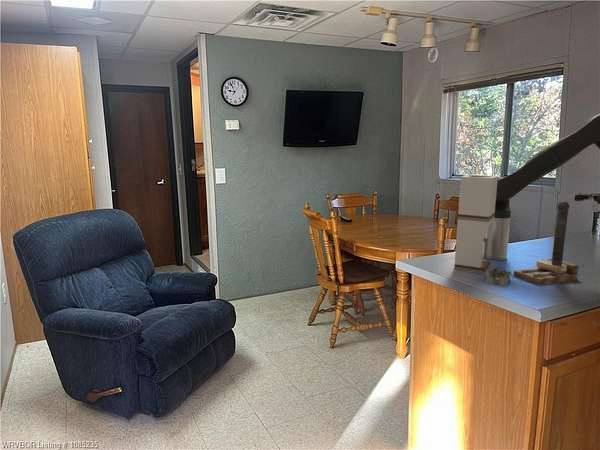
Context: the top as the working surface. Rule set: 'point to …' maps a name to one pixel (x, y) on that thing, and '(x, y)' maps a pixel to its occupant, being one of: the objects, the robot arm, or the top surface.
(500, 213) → the robot arm
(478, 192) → the display case
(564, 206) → the knob-topped lever
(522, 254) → the top surface
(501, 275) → the egg carton
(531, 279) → the press base
